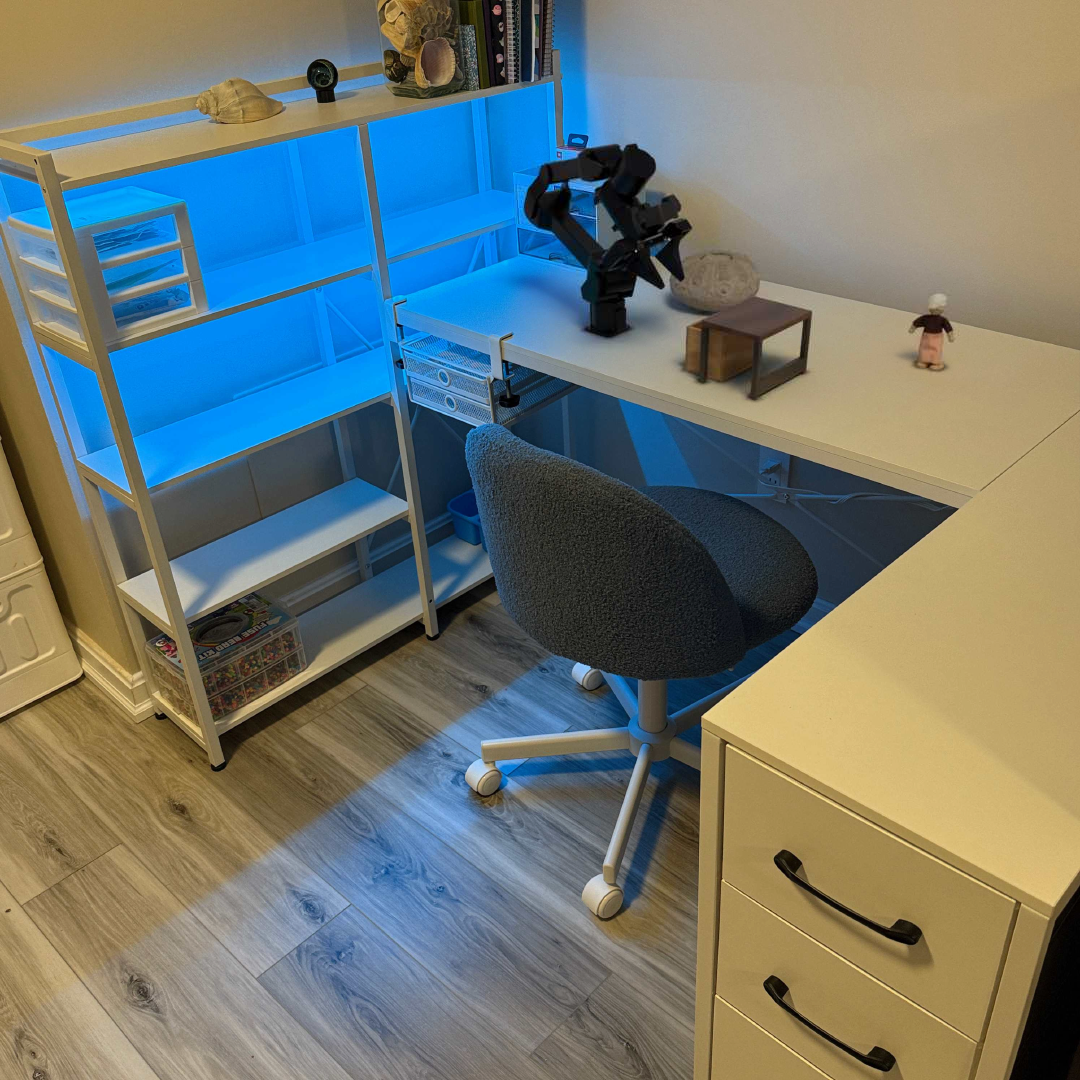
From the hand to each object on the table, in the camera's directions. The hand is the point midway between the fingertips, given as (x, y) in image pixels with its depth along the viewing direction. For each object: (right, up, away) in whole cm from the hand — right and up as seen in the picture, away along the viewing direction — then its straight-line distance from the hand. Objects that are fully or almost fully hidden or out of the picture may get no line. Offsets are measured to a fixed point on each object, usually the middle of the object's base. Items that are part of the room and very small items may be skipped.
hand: (673, 284), depth 183 cm
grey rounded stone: (+12, +2, +27) cm, 30 cm away
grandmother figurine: (+43, -15, -3) cm, 46 cm away
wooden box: (+8, -15, 0) cm, 17 cm away
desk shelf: (+13, -17, -4) cm, 22 cm away
